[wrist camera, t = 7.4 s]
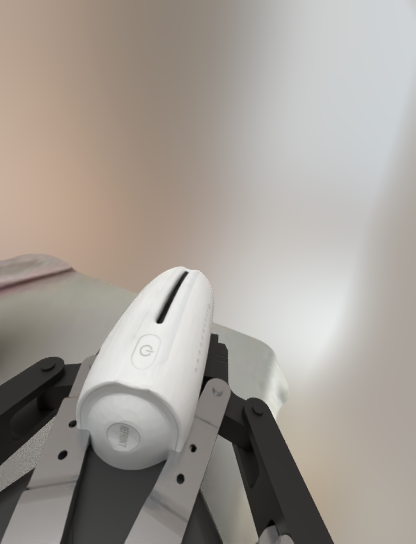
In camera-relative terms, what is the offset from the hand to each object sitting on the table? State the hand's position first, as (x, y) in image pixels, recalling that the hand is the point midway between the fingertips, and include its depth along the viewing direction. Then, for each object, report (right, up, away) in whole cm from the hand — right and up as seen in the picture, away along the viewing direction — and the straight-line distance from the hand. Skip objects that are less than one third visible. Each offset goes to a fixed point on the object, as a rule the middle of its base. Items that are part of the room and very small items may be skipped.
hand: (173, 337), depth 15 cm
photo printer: (-2, -8, 0) cm, 8 cm away
